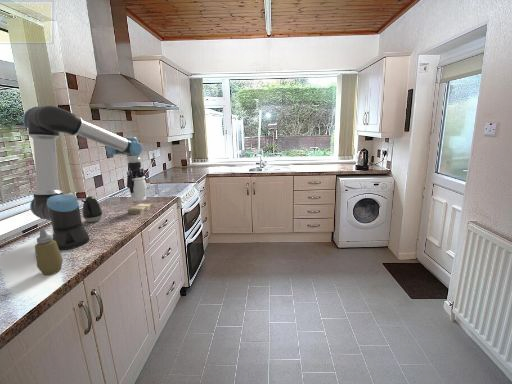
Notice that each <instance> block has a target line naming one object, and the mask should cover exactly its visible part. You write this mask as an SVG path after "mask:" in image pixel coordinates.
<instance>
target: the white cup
mask: <svg viewBox="0 0 512 384" xmlns="http://www.w3.org/2000/svg"><path fill="white" fill-rule="evenodd" d="M145 177H146V175H145V176H142V178H138V177H137V176H136V178H134V179H132V181H133V180H134V187H133V188H135V194H136V198H131V199H132V201H133V202H139V201H140V202H141V201H145V200H146V199H147V196H146V195H147V182H146V181H145ZM128 190H129V191H130V188H128Z"/></svg>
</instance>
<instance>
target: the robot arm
mask: <svg viewBox="0 0 512 384" xmlns="http://www.w3.org/2000/svg"><path fill="white" fill-rule="evenodd" d="M22 121H23V124H24V126H25V127H26V129H27V133H28V136H29V137H30V138H31V139H32V141H33V142H32V143H33V155H34V167H35V168H34V169H35V180H36V190H35V191H33V199H32V200H31V202H30V203H29V207H30V211H31V213H32V214H33V215H34V216H36V217H37V218H39V219H42V220H48V221H50V222H51V226H52V230H53V231H52V240H55V241H56V243H57V245H58V248H59V251H64V250H69V249H70V250H71V249H75V248H78V247H80V246H84V245H85V244H87V243H88V242H89V241H90V235H89V233H87V231H86V229H85V227H84V226H83V222H82V216H81V210H80V206H79V205H80V203H79V201H78V198H77V197H76V196H75V195H73V194H65V193H64V191H63V190H61V189H60V183H59V171H58V157H57V140H58V138H60V133H63V134H68V135H70V136H75V135H76V136H80V137H82V138H85V139H87V140H90V141H93V142H95V143H99V144H100V145H103V146H105V150H106V153H107V154H109V155H110V156H116V155H123V156H124V155H126V160H127V162H128V163H127V165H128V169H130V170H129V171H127V172H126V175H127V179H126V188H128V189H129V188H130V190H129V192H130V195H131V196H130V197H131V199H133V198H136V194H135V188H133V187H134V180H133V181H132V179H134V178H136V176H137V177H138V178H142V176H145V181H146V183H147V178H146V174H145V171H144V168H142V163H141V156H140V154H141V153H142V151H143V146H142V144H141V142H139V141H138V138H137V137H136V136H129V137H123V136H120V135H118V134H116V133H113V132H111V131H108V130H106V129H104V128H103V127H99V126H97V125H95V124H93V123H90V122H88V121H86V120H83V118H82V117H81V116H79V115H77V114H76V113H72V112H71V111H68V110H66V109H64V108H61V107H59V106H55V105H45V106H44V105H42V106H41V105H40V106H34V107H32V108H28V109H27V110H25V112H24V113H23V115H22Z"/></svg>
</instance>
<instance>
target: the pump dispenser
mask: <svg viewBox="0 0 512 384" xmlns="http://www.w3.org/2000/svg"><path fill="white" fill-rule="evenodd" d="M81 203H83V204H82V218H83V219H84V220H85V222H88V223H96V222H98V221H100V220H102V218H103V209H102V207H101V205H100V203H99V201H98V200H97V199H96V197H94V196H92V195H91V196H87V197H85V199H81Z"/></svg>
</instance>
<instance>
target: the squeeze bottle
mask: <svg viewBox="0 0 512 384" xmlns="http://www.w3.org/2000/svg"><path fill="white" fill-rule="evenodd" d="M52 239H53V235H51V234H48V232H47V231H46V229H45V227H41V228H39V236H38V237H37V238H36V242H37V243H36V244H35V245H34V248H35V249H34V251H35V258H36V268H38V270H39V271H40V272H41V274H42V275H44V276H50V275H53V274H56V273H58V272H59V271H61V269H62V266H63V257H62V254H61V250H59V248H58V245H57V243H56V241H55V240H52Z"/></svg>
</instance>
